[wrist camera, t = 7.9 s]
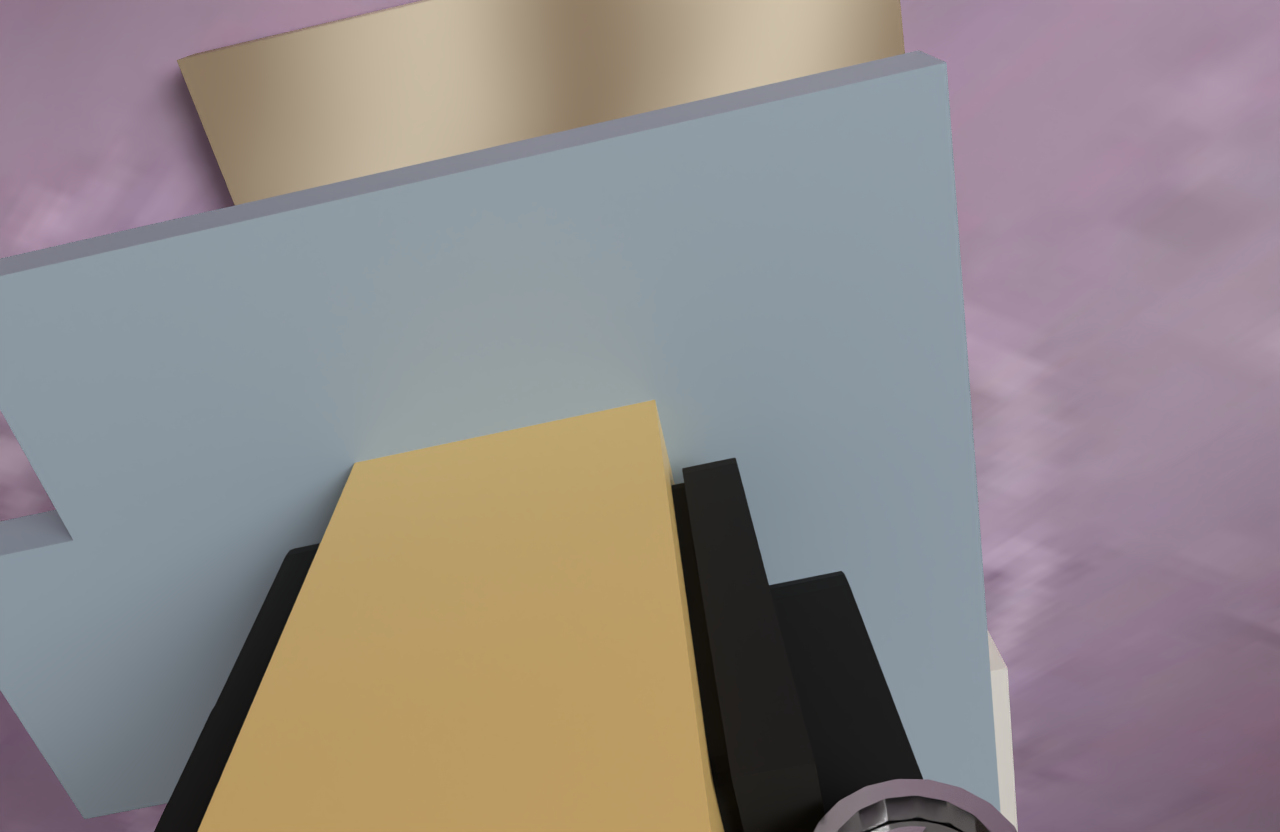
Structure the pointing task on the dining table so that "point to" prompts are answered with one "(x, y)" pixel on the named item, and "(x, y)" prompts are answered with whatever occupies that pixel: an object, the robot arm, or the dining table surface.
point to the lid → (497, 463)
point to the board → (498, 76)
